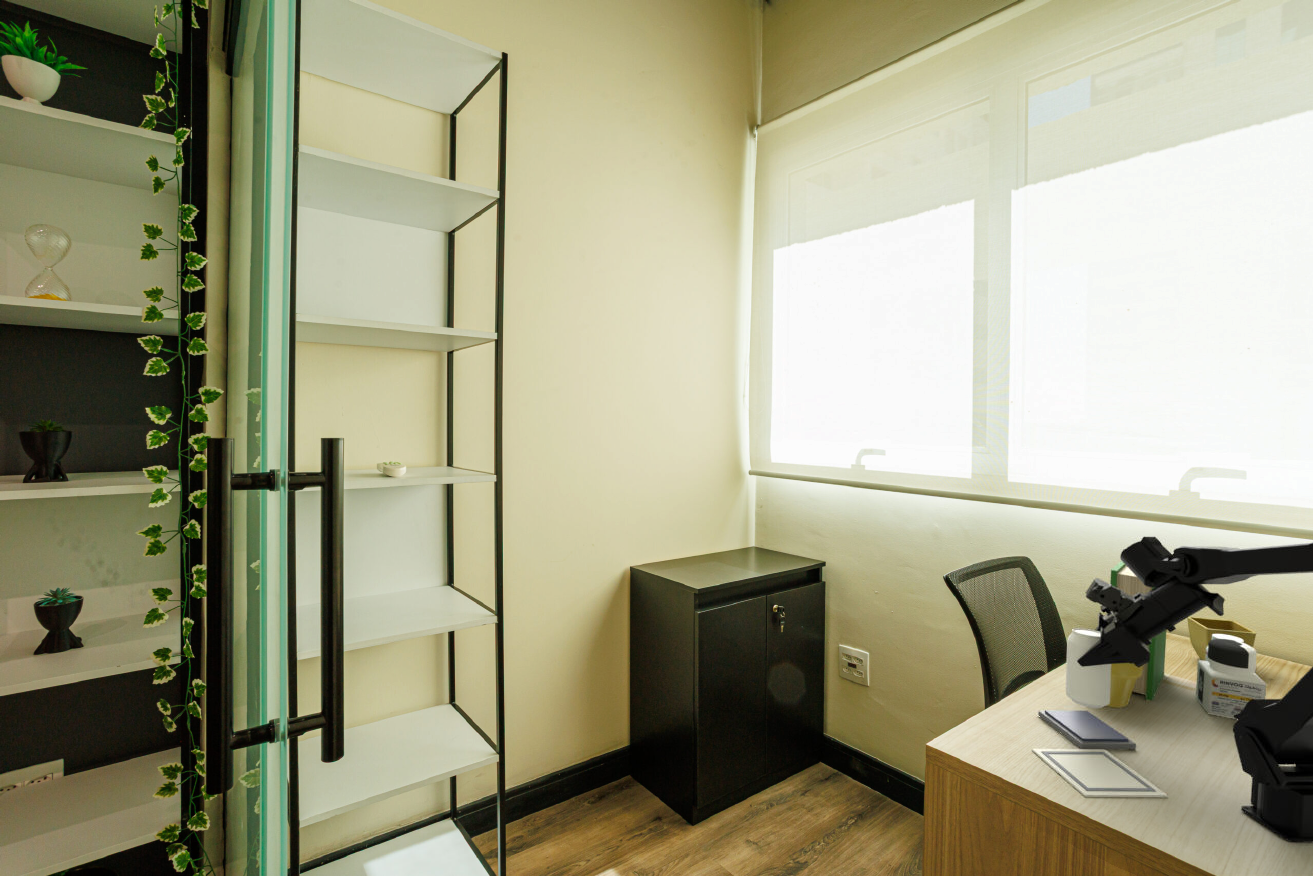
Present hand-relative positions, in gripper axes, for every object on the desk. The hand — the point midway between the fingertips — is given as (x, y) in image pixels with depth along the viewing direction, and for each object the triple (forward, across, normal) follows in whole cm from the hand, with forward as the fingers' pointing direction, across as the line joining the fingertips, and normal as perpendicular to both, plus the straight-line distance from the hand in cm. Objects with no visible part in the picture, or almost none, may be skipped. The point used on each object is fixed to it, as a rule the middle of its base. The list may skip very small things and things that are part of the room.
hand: (1079, 658), depth 106 cm
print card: (+7, +14, +11) cm, 19 cm away
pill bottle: (-8, -36, +27) cm, 46 cm away
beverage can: (+4, +1, +6) cm, 8 cm away
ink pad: (+8, 0, +10) cm, 13 cm away
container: (-8, -26, +26) cm, 37 cm away
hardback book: (+2, -32, +16) cm, 36 cm away
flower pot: (-10, -55, +28) cm, 62 cm away
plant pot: (+6, -18, +12) cm, 22 cm away
